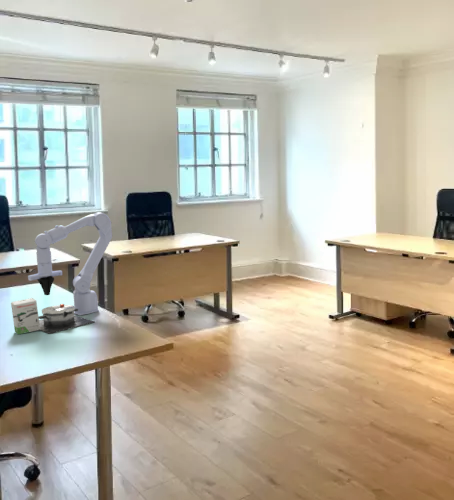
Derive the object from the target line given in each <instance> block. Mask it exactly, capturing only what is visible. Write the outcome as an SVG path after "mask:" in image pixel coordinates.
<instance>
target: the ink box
mask: <svg viewBox="0 0 454 500" xmlns="http://www.w3.org/2000/svg"><path fill="white" fill-rule="evenodd" d="M10 305H11V313H12V320H13V326H14V327H13V328H14V333H15V334H17V335H22V334H26V333H32V332H36V331H39V330H40V325H39V320H40V319H39V311H38V304H37V300H36V299H35V298H32V297H31V298H28V299H27V298H25V299H21V300H15V301H11V303H10Z"/></svg>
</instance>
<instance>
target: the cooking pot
mask: <svg viewBox="0 0 454 500" xmlns="http://www.w3.org/2000/svg"><path fill="white" fill-rule="evenodd" d="M75 311H78V309H77V308H75V310H74V311H72V314H69V315H67V314H59V315H45V314H42V315H40V316H39V315H38V317H39V325H40V330H38V331H40V332H42V333H46V334H49V335H50V334H56V333H57V332H58V333H59V332H62V331H67V330H70V329H75V328H79V327H82V326H86V325H90V324H94V323H95V320H91V319H88V318H84V317H81V316H79V315H76V314H74V312H75Z"/></svg>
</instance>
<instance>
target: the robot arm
mask: <svg viewBox="0 0 454 500" xmlns="http://www.w3.org/2000/svg"><path fill="white" fill-rule="evenodd" d="M84 227H95V228H96V230H97V233H98V235H99V236H98V239H97V241H96V242H95V244H94V246H93V249H92V250H91V252H90V254H89V256H88V258H87V259H86V262H85V264H84V265H83V267H82V269H81V270H80V271H79V273H78V274H77V275H76V276H74V278H73V280H72V286H73V287H74V290H73V292H72V294H73V306H74V307H75V308H77V309H78V311H75V312H74V315H76V316H84V315H87V314H93V313H97V312H100V310H99V304H98V301H99V300H98V295H97V292H96V291H95V290H91V289H90V288H91V282H92V280H93V277H94V273H95V271H96V270H97V267H98V265H99V264H100V262H101V259H102V258H103V256H104V254H105V252H106V250H107V248H108V247H109V245H110V242H111V240H112V239H113V230H112V229H113V228H112V220H111V218H110V217H109V215H108V214H107V213H104V212H101V211H97V212H94V213H91V214H88V215H86V216H83V217H81V218H79V219H77V220H75V221H73V222H71V223H69V224H68V225H65V226H64V225H57V224H56V225H55V226H54V228H51V229H49V230H44V231H43V233H39V234H38V235H36V237H35V239H34V244H35V245H36V247H35V248H36V249H35V250H36V263H37V273H34V274H30V275H27V280H28V281H30V282H31V281H36V280H37V281H38V283H39V285H40V286H41V289H42V291H43V293H44V296H49V295H50V294H51V289H52V285H53V283H54V282H55V278H54V277H57V276H58V277H59V276H63V270H60V269H59V270H53V263H52V252H51V247H50V246H51V244H52V245H54V244H56V243H58V242H60V241H62V240H64V239H67V238H68V237H69V234H70V233H72V232H75V231H78V230H80V229H81V228H84Z"/></svg>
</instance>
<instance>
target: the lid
mask: <svg viewBox="0 0 454 500" xmlns="http://www.w3.org/2000/svg"><path fill="white" fill-rule="evenodd" d="M74 310H75V307H74V305H71V304H64V303H60V304H58V305H53V306H48V307H45V308H42V309H41V314H42V315H43V314H45V315H59V314H67V315H69V314H72V311H74Z"/></svg>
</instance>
